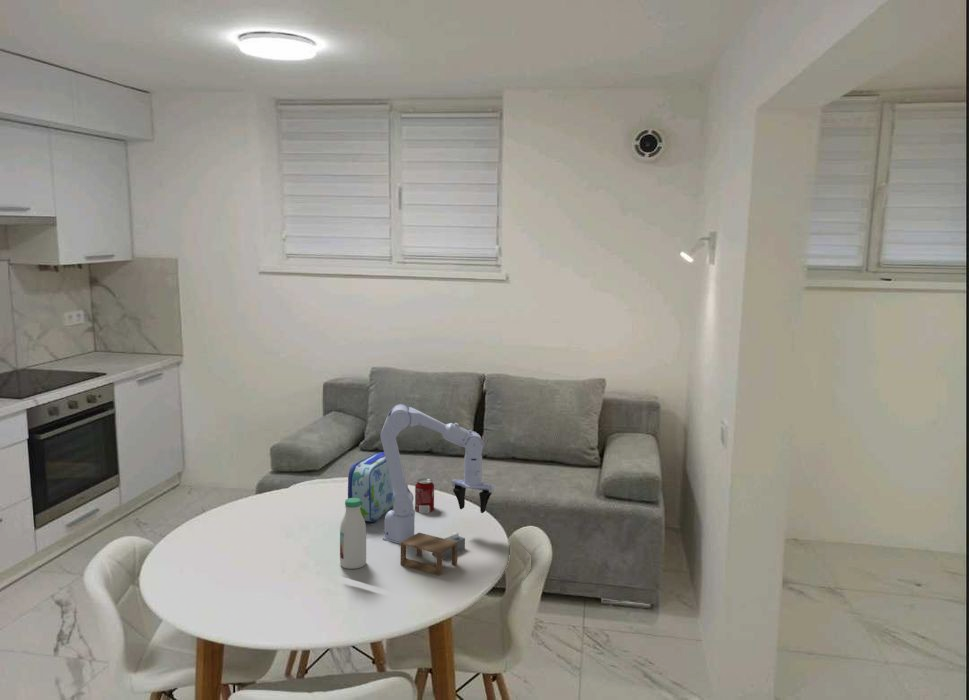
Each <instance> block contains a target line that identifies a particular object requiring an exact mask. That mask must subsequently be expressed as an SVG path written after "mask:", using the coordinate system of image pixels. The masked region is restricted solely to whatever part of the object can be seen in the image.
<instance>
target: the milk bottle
mask: <svg viewBox="0 0 969 700" xmlns="http://www.w3.org/2000/svg"><path fill="white" fill-rule="evenodd" d="M344 505H345V507H344V508H345V513H344V516H343V518H342V520H341V522H340V528H339V564H340V566H341V568H344V569H348V570H355V569H359V568H363V567H364V566H366V564H367V527H366V526H367V525H366V521H364V518H363V516H362V514H361V511H360V507H361V500H360V499H359V498H349V499H348V498H347V499H345V502H344Z"/></svg>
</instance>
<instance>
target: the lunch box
mask: <svg viewBox="0 0 969 700" xmlns="http://www.w3.org/2000/svg"><path fill="white" fill-rule="evenodd" d="M347 476H348V477H347V499H349V498H359V499H360V500H361V507H360V511H361V514H362V516H363V518H364V521H365V522H369V523H371V522H372V523H373V522H376V521H378V520H379V519H381V518H382V516H384V515H386V514H387V512H388V511H390V510H392V508H393V505H394V496H393V487H392V483H391V479H390V475H389V471H388V466H387V462H386V458H385V454H384V451H383V452H382V451H381V452H380V451H379V452H376V453H373V454H371V455H369V456H367V457H365V458H363V459H362V460H359V461H357V462H355V463H353V464H352V465H351V466H350V468H349V471H348V475H347Z"/></svg>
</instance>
